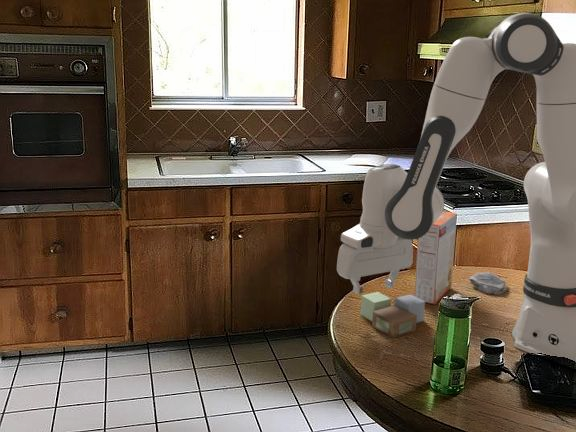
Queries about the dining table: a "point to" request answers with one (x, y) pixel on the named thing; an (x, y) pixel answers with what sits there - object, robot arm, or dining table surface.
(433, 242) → the cracker box
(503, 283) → the fossil
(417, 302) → the slate blue block
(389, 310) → the walnut slab
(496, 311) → the dining table surface
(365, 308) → the sage green block
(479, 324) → the dining table surface
